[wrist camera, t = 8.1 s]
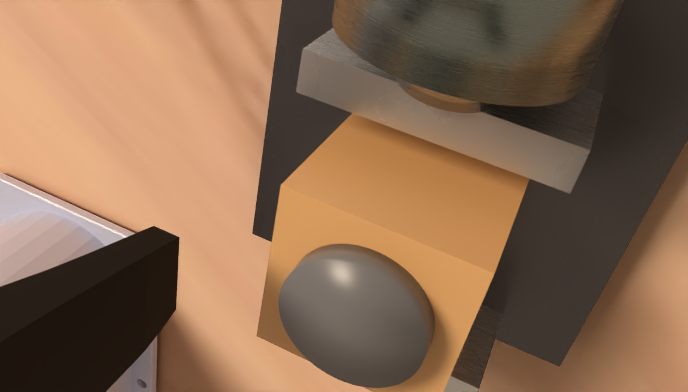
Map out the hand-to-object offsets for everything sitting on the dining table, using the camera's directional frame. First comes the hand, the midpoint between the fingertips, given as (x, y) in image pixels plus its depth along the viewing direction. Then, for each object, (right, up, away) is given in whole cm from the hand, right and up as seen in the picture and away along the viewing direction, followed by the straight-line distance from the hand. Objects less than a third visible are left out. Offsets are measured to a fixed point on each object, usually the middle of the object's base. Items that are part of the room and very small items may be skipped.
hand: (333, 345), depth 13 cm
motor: (+3, +6, +4) cm, 8 cm away
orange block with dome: (+2, +3, +5) cm, 6 cm away
